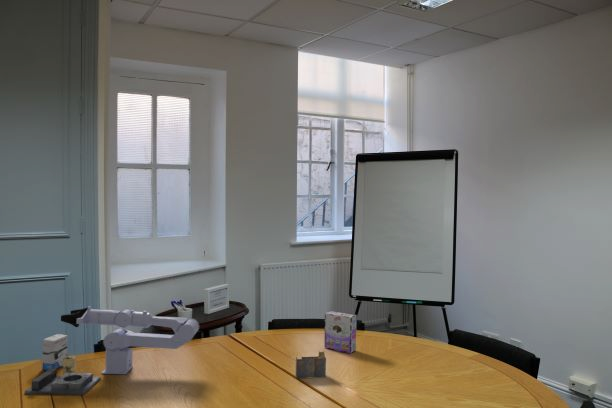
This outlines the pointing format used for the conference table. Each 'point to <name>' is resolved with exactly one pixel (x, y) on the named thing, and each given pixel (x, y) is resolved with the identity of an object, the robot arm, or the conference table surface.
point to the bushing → (69, 364)
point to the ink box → (54, 351)
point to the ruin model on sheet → (311, 366)
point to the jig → (62, 383)
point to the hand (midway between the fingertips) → (66, 315)
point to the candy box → (340, 331)
